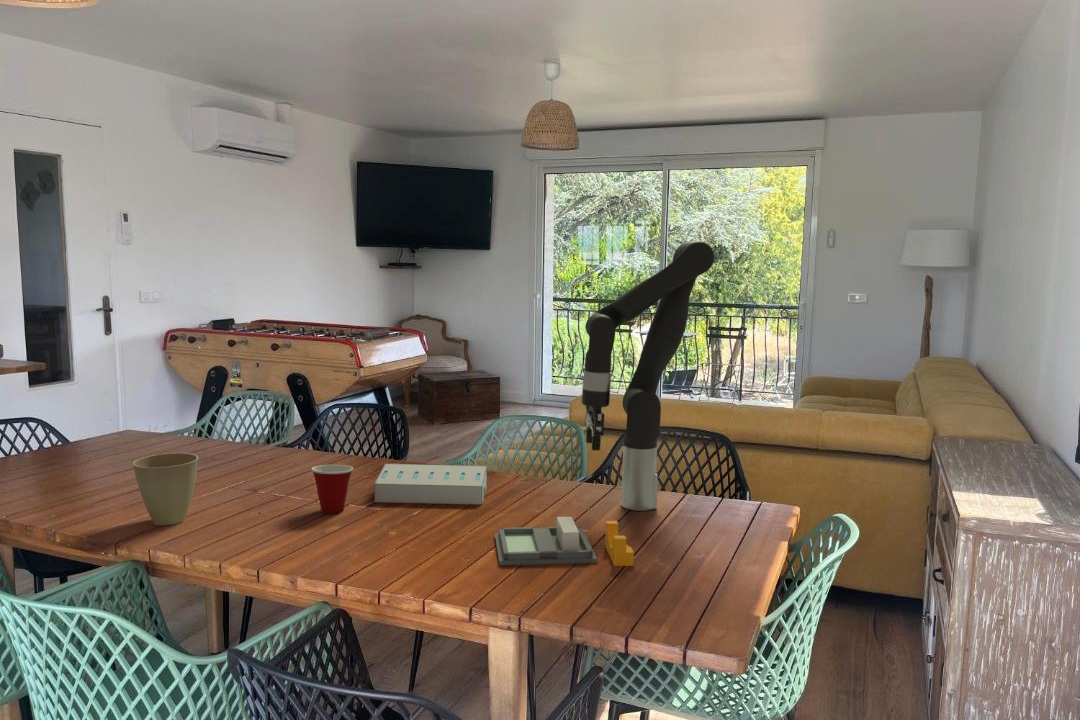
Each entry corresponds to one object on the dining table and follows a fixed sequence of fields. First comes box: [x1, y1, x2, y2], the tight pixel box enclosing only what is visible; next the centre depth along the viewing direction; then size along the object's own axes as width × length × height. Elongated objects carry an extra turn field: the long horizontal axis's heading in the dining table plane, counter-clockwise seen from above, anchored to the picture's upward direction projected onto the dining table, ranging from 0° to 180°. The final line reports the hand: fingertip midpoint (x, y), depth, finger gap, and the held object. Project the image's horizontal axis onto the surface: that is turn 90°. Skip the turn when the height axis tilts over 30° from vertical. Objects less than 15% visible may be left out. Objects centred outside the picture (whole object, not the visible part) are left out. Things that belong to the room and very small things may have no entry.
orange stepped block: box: [604, 520, 635, 567], centre depth 181 cm, size 12×4×6 cm, turn 5°
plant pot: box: [132, 452, 199, 526], centre depth 198 cm, size 15×15×16 cm
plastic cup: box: [311, 464, 354, 515], centre depth 209 cm, size 11×11×12 cm
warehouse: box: [373, 463, 488, 505], centre depth 224 cm, size 30×14×8 cm, turn 89°
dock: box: [494, 516, 598, 566], centre depth 184 cm, size 22×18×6 cm
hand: (592, 446), depth 214 cm, fingers open, 8 cm apart
